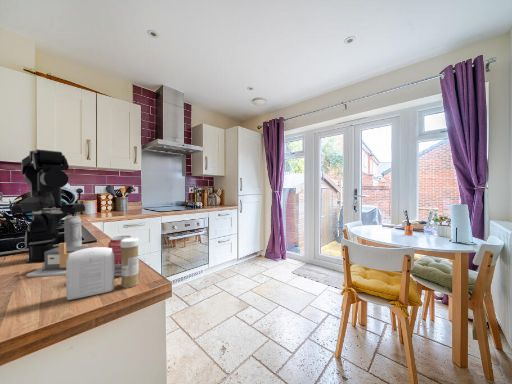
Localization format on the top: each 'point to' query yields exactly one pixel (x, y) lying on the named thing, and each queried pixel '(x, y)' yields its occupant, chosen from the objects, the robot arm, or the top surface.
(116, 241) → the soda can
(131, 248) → the sprinkles bottle
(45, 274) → the grey and white panel
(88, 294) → the grey rounded-corner block
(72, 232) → the energy drink can
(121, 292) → the top surface
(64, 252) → the wooden block
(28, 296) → the top surface
